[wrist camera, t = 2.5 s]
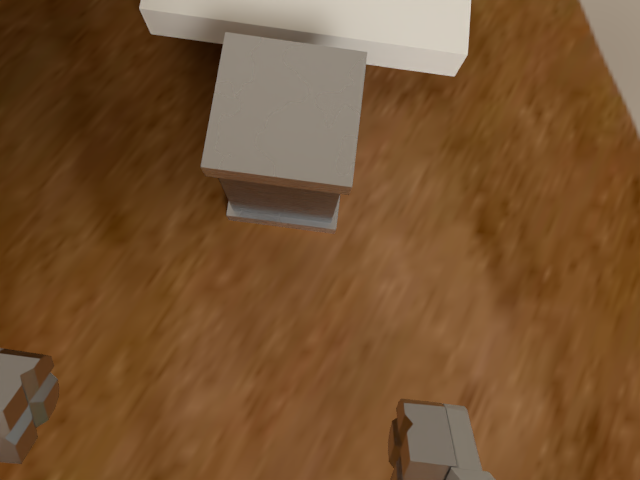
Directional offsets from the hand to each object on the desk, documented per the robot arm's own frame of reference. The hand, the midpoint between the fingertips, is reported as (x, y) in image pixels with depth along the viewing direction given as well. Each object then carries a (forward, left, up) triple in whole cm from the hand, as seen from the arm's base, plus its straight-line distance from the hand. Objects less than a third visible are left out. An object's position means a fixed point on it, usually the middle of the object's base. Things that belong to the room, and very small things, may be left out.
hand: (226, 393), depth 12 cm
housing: (0, +10, -13) cm, 16 cm away
